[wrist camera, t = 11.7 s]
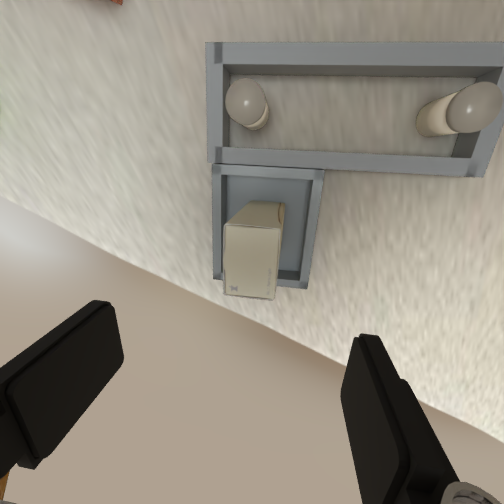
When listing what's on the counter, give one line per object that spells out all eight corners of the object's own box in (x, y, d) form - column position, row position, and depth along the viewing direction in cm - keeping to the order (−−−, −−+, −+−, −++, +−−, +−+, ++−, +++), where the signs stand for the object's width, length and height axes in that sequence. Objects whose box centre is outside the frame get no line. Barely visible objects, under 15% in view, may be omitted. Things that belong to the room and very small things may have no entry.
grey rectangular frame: (503, 56, 22) (534, 41, 19) (462, 175, 26) (483, 177, 23) (214, 55, 25) (205, 42, 22) (215, 162, 29) (207, 162, 26)
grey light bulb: (271, 95, 25) (266, 78, 20) (268, 131, 27) (263, 125, 21) (239, 94, 26) (225, 77, 20) (238, 130, 27) (225, 123, 22)
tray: (320, 168, 27) (324, 170, 24) (305, 277, 32) (307, 289, 29) (219, 163, 29) (211, 163, 26) (219, 268, 34) (213, 279, 31)
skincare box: (280, 250, 31) (276, 304, 20) (245, 247, 31) (222, 298, 20) (285, 200, 28) (283, 228, 17) (247, 197, 29) (222, 223, 18)
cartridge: (458, 99, 23) (510, 82, 18) (446, 138, 25) (492, 133, 19) (420, 98, 24) (460, 81, 18) (410, 137, 25) (445, 131, 20)
